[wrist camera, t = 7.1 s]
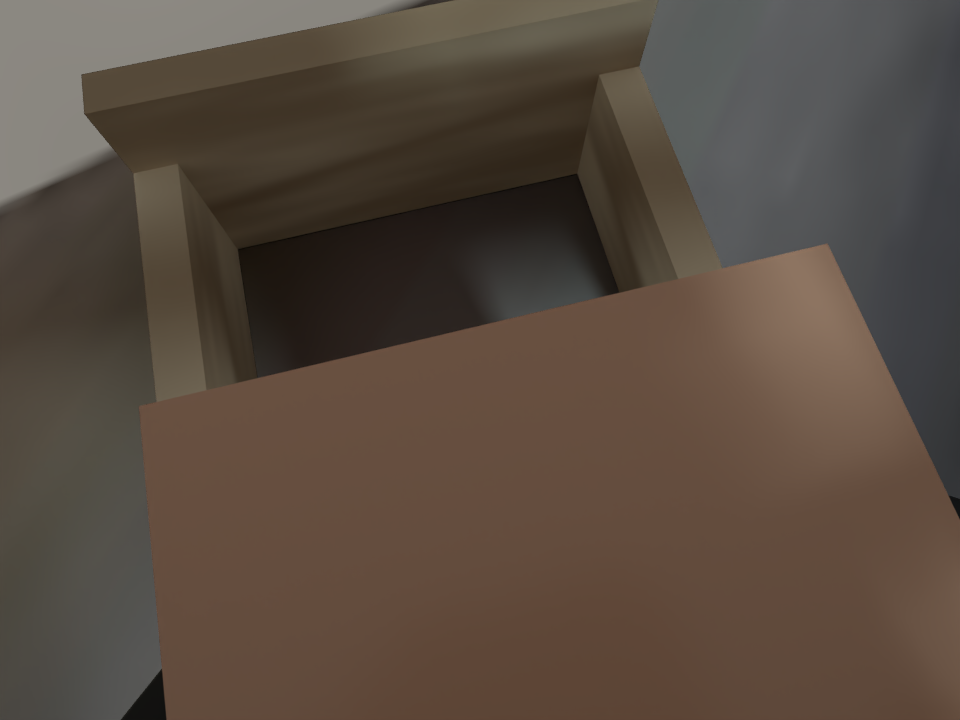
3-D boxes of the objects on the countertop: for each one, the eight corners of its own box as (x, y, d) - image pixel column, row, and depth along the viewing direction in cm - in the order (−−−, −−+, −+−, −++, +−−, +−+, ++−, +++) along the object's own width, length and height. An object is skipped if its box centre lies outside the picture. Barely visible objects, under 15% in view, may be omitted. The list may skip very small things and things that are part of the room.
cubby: (690, 383, 18) (786, 282, 12) (234, 497, 17) (109, 446, 11) (599, 138, 20) (644, -38, 15) (198, 226, 20) (81, 74, 14)
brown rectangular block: (684, 737, 13) (1244, 1112, 3) (423, 813, 12) (235, 1473, 3) (602, 478, 14) (827, 243, 5) (369, 538, 14) (139, 405, 5)
